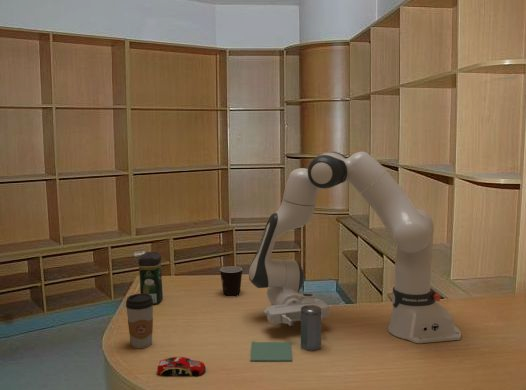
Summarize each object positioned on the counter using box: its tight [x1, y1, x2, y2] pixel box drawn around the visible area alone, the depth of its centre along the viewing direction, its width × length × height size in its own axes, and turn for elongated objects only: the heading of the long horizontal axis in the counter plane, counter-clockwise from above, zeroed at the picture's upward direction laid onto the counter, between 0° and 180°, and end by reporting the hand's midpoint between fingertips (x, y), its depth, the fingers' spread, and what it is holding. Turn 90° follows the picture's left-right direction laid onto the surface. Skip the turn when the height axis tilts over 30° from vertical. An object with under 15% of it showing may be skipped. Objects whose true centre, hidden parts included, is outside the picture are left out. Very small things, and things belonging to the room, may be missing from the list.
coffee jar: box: [138, 251, 164, 305], centre depth 205 cm, size 10×8×19 cm
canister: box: [300, 305, 322, 352], centre depth 165 cm, size 6×6×12 cm
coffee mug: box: [219, 265, 243, 297], centre depth 214 cm, size 12×9×10 cm
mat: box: [249, 341, 293, 363], centre depth 162 cm, size 12×12×1 cm
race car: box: [156, 356, 207, 377], centre depth 150 cm, size 13×5×4 cm, turn 88°
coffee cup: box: [125, 293, 155, 349], centre depth 167 cm, size 8×8×15 cm
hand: (306, 321), depth 169 cm, fingers open, 8 cm apart
